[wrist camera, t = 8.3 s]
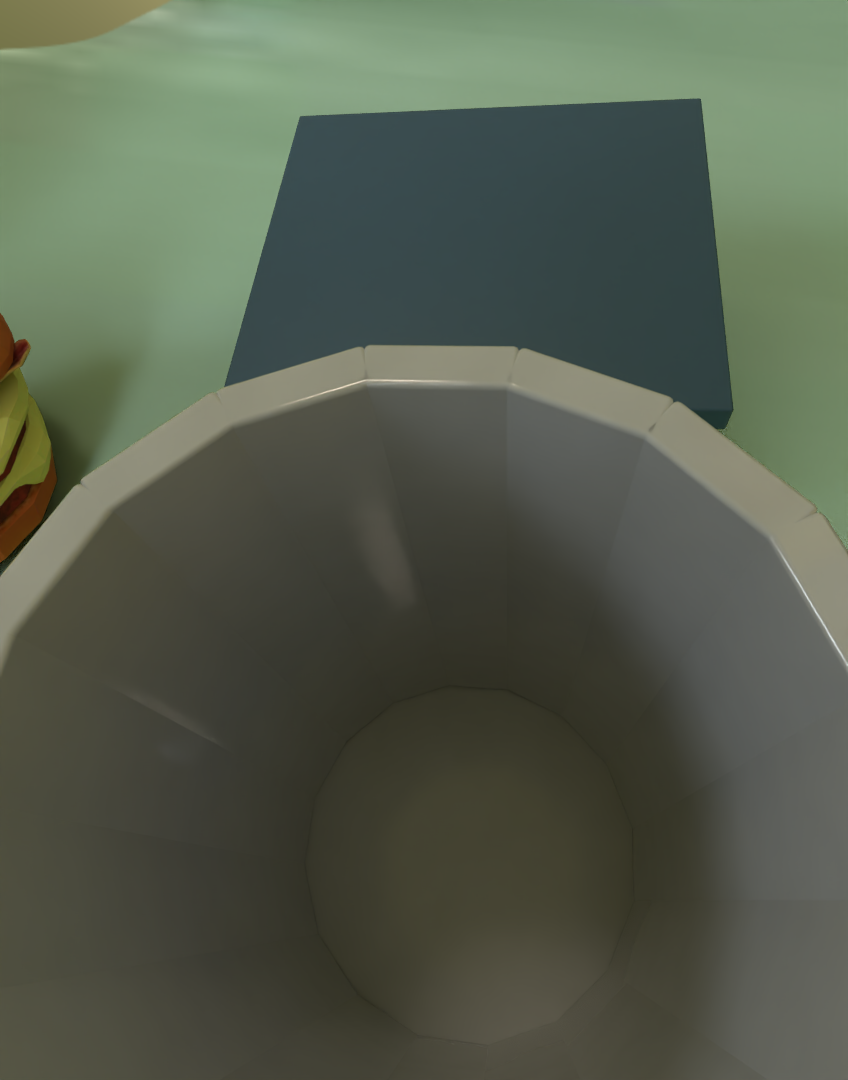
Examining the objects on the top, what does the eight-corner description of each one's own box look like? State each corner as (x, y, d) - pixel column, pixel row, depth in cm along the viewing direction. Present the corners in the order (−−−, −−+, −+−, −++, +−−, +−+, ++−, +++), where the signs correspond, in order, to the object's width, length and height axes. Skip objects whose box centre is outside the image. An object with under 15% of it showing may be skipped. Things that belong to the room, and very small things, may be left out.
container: (292, 527, 25) (218, 402, 19) (343, 277, 30) (299, 115, 24) (675, 543, 23) (734, 410, 17) (660, 273, 28) (701, 97, 22)
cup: (259, 1037, 14) (-342, 1370, 4) (322, 662, 17) (73, 340, 7) (661, 1096, 13) (1160, 1729, 3) (647, 685, 16) (868, 347, 6)
